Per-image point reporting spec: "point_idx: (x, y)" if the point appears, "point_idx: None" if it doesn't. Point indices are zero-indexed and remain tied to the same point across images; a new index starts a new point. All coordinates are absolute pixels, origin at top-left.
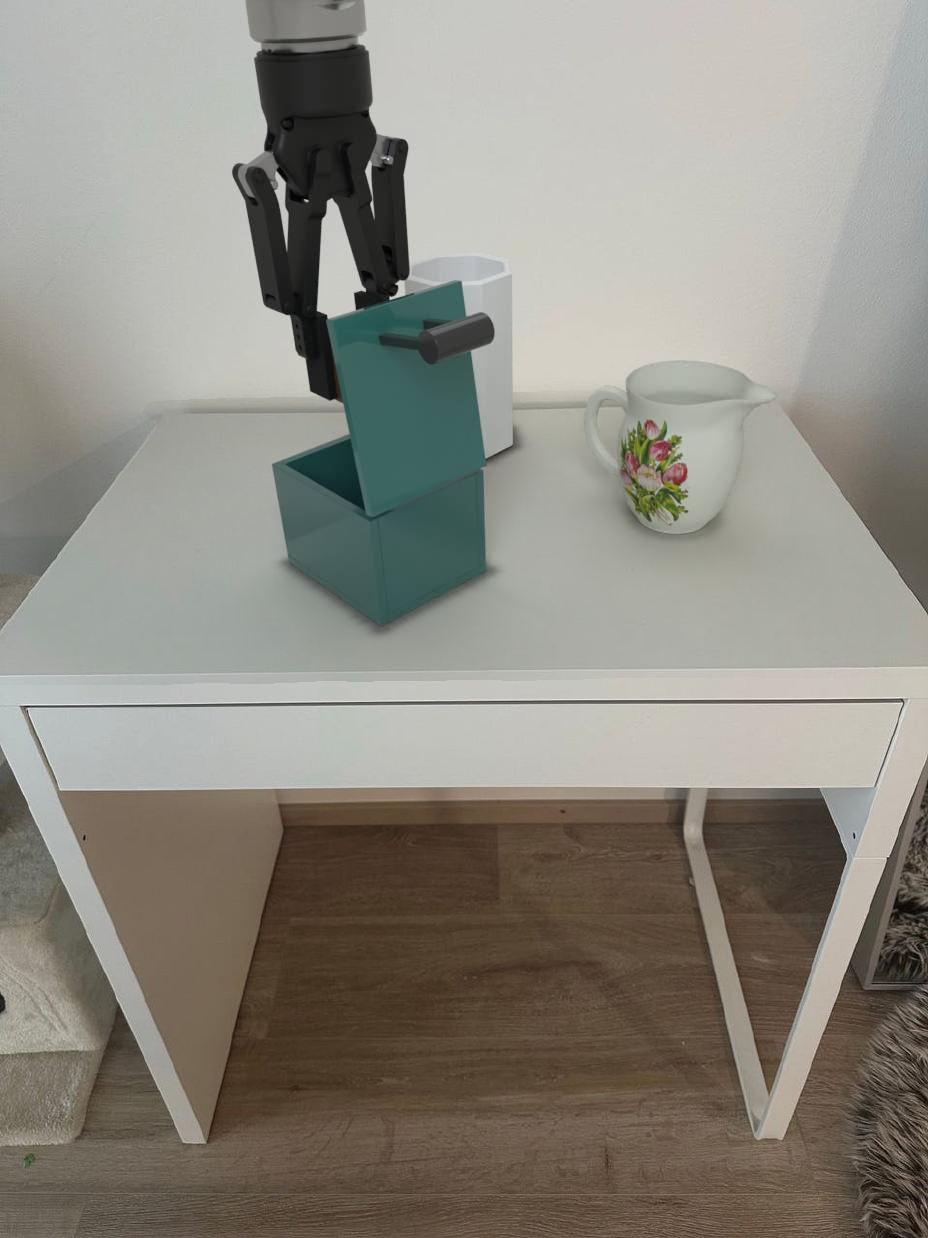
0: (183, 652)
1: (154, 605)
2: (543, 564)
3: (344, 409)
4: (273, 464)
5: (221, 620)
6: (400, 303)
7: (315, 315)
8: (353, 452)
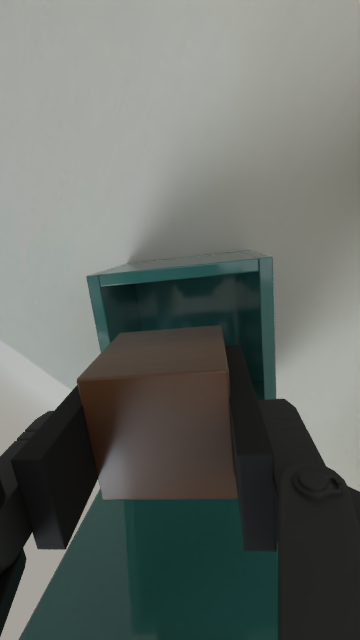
0: (12, 325)
1: (5, 250)
2: (298, 405)
3: (64, 555)
4: (87, 280)
5: (47, 306)
6: None
7: (34, 534)
8: (91, 505)
